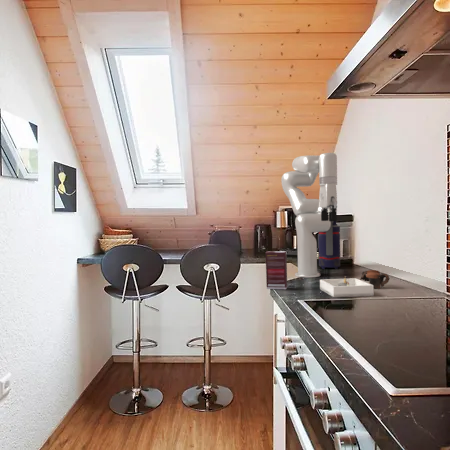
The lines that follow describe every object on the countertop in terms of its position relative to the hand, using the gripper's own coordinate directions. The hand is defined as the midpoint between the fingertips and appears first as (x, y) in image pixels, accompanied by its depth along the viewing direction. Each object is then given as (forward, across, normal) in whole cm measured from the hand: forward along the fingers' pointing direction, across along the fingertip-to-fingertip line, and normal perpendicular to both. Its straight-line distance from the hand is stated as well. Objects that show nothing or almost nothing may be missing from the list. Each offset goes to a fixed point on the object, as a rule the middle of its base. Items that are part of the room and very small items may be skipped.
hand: (328, 221), depth 164 cm
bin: (+28, +15, +1) cm, 32 cm away
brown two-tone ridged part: (+29, +7, +17) cm, 34 cm away
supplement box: (+28, +2, -24) cm, 37 cm away
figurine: (+28, +15, +1) cm, 31 cm away
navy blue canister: (+28, -49, +18) cm, 59 cm away
